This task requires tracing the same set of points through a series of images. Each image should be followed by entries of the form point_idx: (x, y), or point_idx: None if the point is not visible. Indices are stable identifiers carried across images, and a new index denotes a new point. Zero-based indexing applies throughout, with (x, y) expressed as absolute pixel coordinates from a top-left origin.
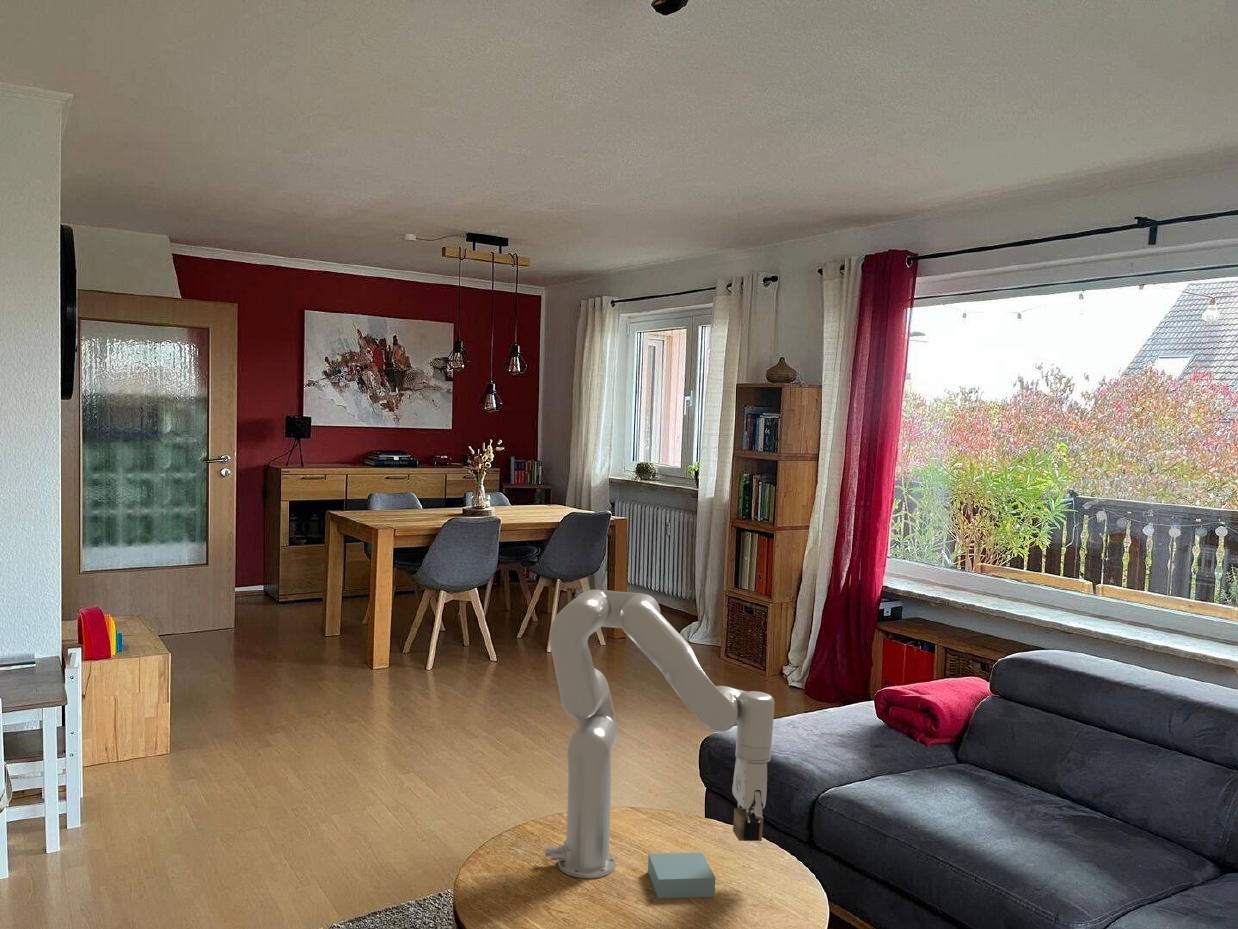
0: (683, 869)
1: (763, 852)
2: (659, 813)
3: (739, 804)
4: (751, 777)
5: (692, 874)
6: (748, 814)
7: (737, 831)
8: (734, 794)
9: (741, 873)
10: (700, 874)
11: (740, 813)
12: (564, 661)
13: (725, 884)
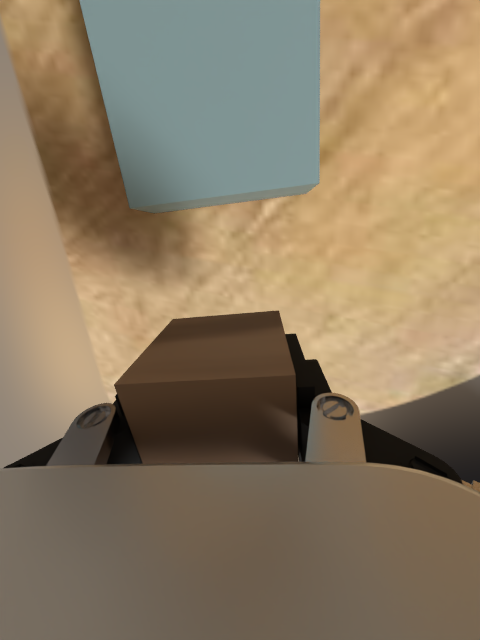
0: (173, 80)
1: (398, 375)
2: None
3: (313, 431)
4: None
5: (137, 118)
6: (53, 458)
7: (198, 328)
8: (313, 498)
9: (291, 304)
10: (144, 153)
11: (194, 398)
12: None
13: (231, 254)
